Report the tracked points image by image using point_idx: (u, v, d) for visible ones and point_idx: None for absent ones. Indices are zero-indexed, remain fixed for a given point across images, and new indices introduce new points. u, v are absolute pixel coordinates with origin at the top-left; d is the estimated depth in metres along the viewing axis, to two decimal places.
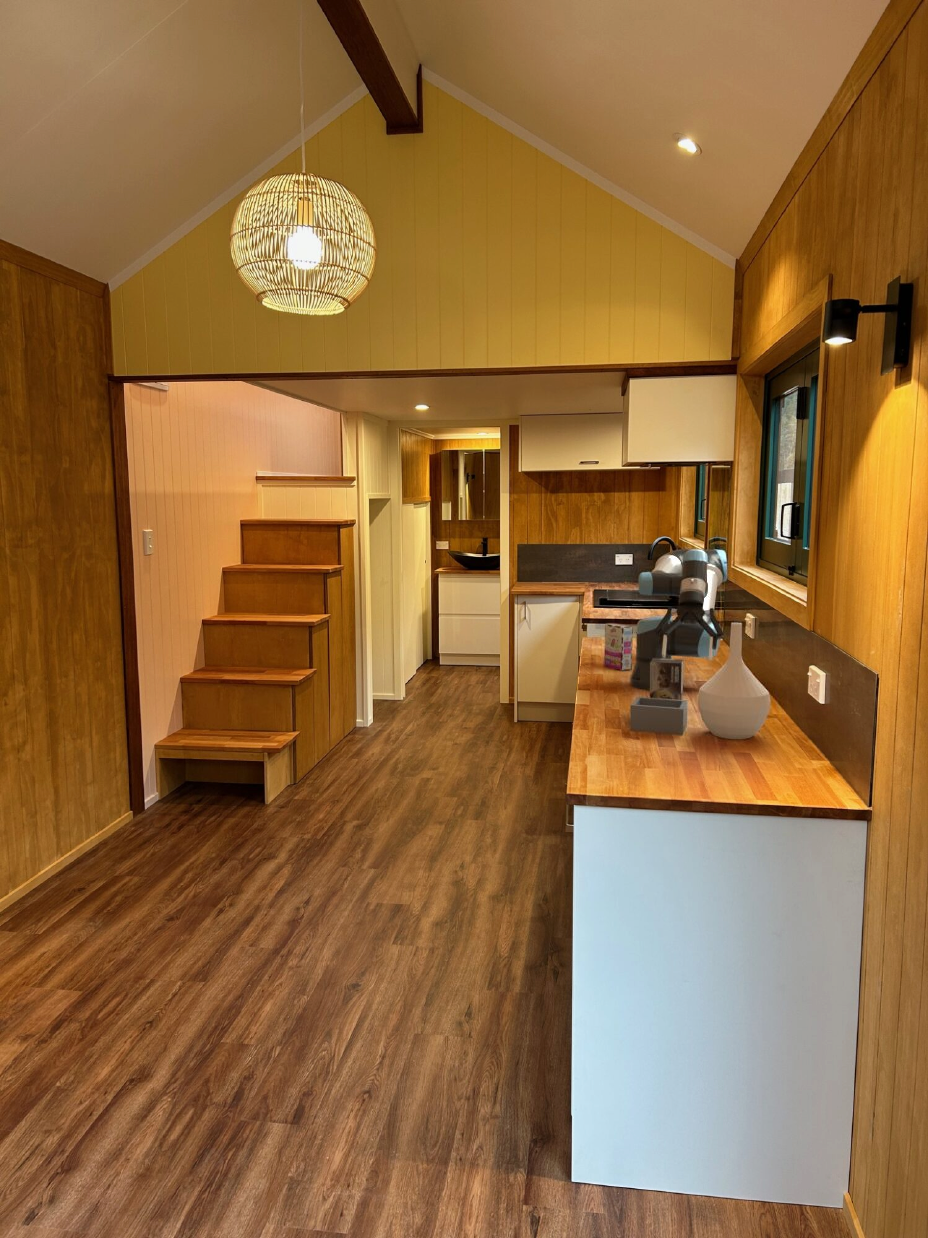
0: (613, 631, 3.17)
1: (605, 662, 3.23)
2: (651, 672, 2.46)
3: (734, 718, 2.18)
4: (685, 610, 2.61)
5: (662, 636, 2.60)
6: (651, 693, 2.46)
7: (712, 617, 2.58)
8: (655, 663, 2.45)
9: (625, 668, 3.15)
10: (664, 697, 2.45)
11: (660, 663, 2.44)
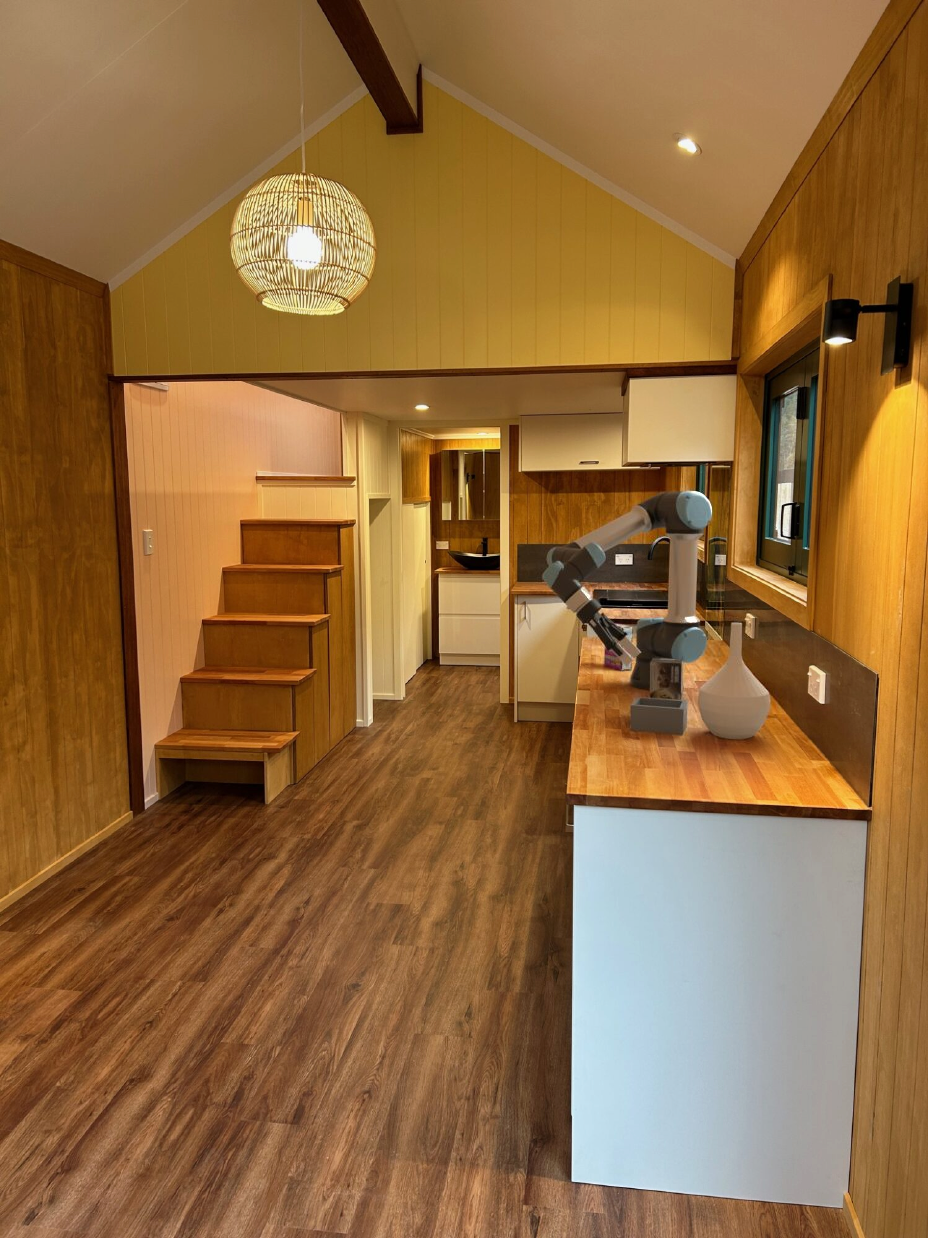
0: None
1: (605, 662, 3.23)
2: (651, 672, 2.46)
3: (734, 718, 2.18)
4: None
5: None
6: (651, 693, 2.46)
7: None
8: (655, 663, 2.45)
9: (625, 668, 3.15)
10: (664, 697, 2.45)
11: (660, 663, 2.44)
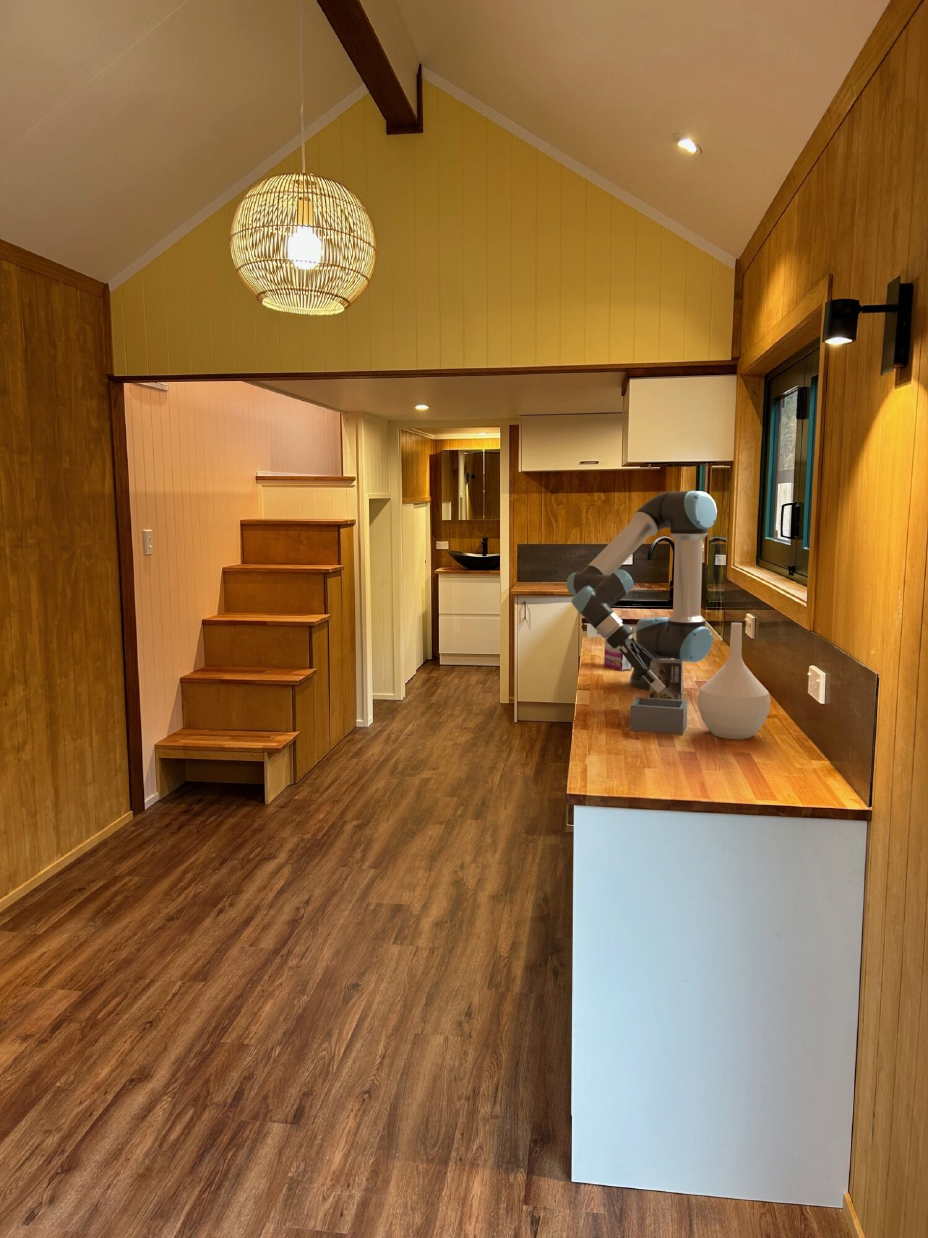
0: None
1: (605, 662, 3.23)
2: None
3: (734, 718, 2.18)
4: None
5: None
6: (651, 693, 2.46)
7: None
8: (655, 663, 2.45)
9: (625, 668, 3.15)
10: (664, 697, 2.45)
11: (660, 663, 2.44)
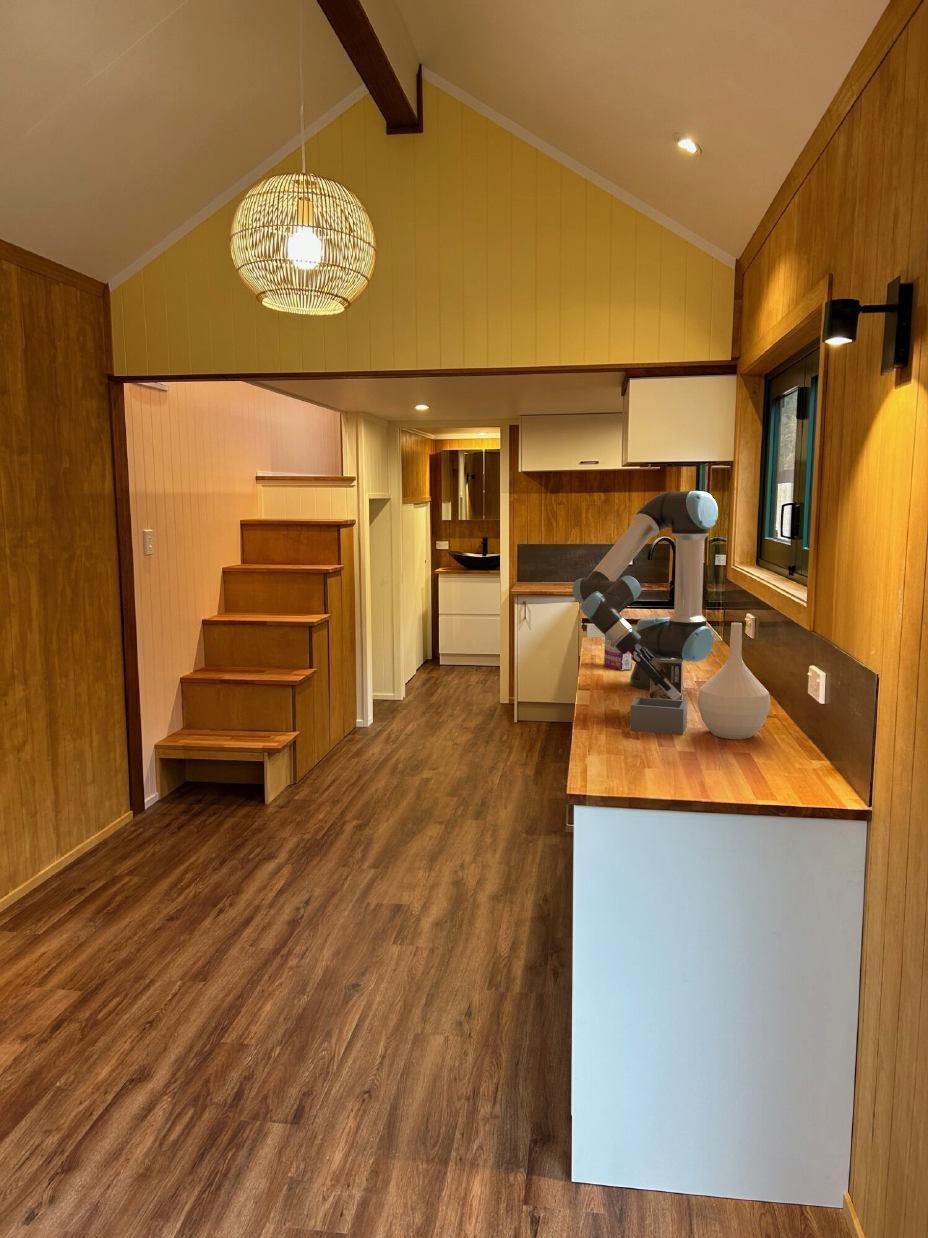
0: None
1: (605, 662, 3.23)
2: None
3: (734, 718, 2.18)
4: None
5: None
6: (651, 693, 2.46)
7: None
8: (655, 663, 2.45)
9: (625, 668, 3.15)
10: (664, 697, 2.45)
11: (660, 663, 2.44)
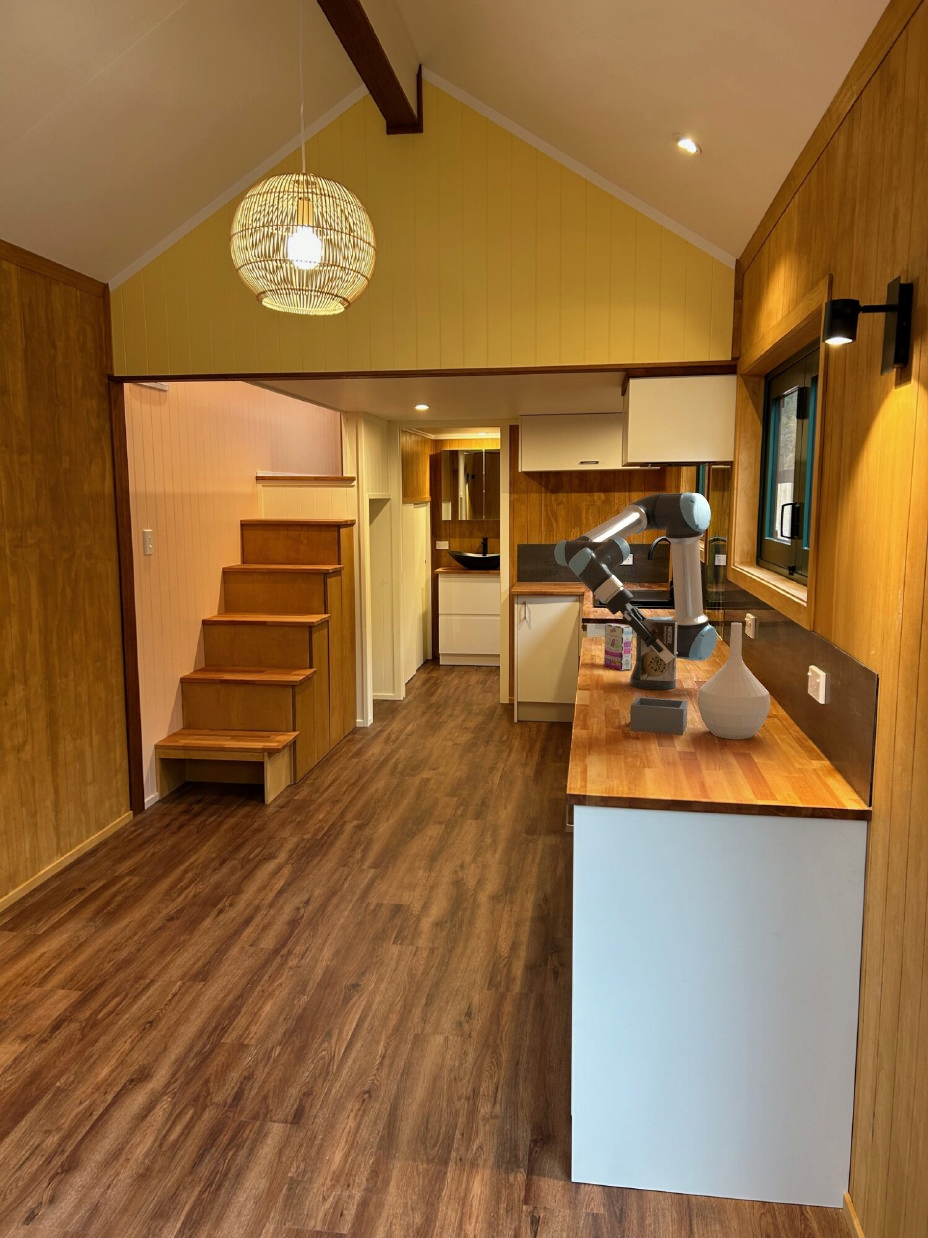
0: (613, 631, 3.17)
1: (605, 662, 3.23)
2: None
3: (734, 718, 2.18)
4: None
5: None
6: (642, 655, 2.31)
7: None
8: (647, 623, 2.30)
9: (625, 668, 3.15)
10: (656, 659, 2.30)
11: (652, 623, 2.29)
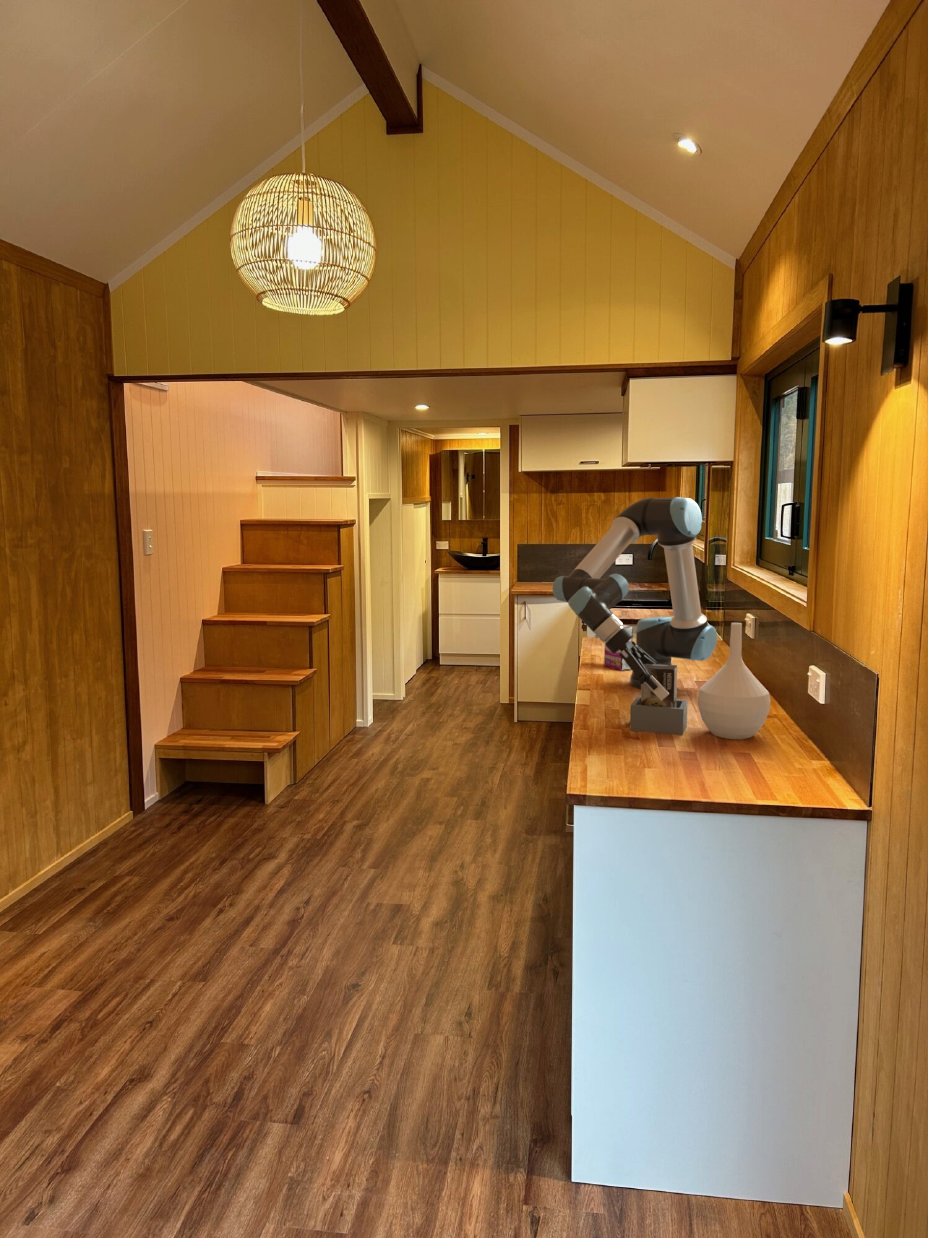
0: None
1: (605, 662, 3.23)
2: None
3: (734, 718, 2.18)
4: None
5: None
6: (642, 701, 2.32)
7: None
8: None
9: (625, 668, 3.15)
10: (656, 705, 2.31)
11: (652, 669, 2.30)
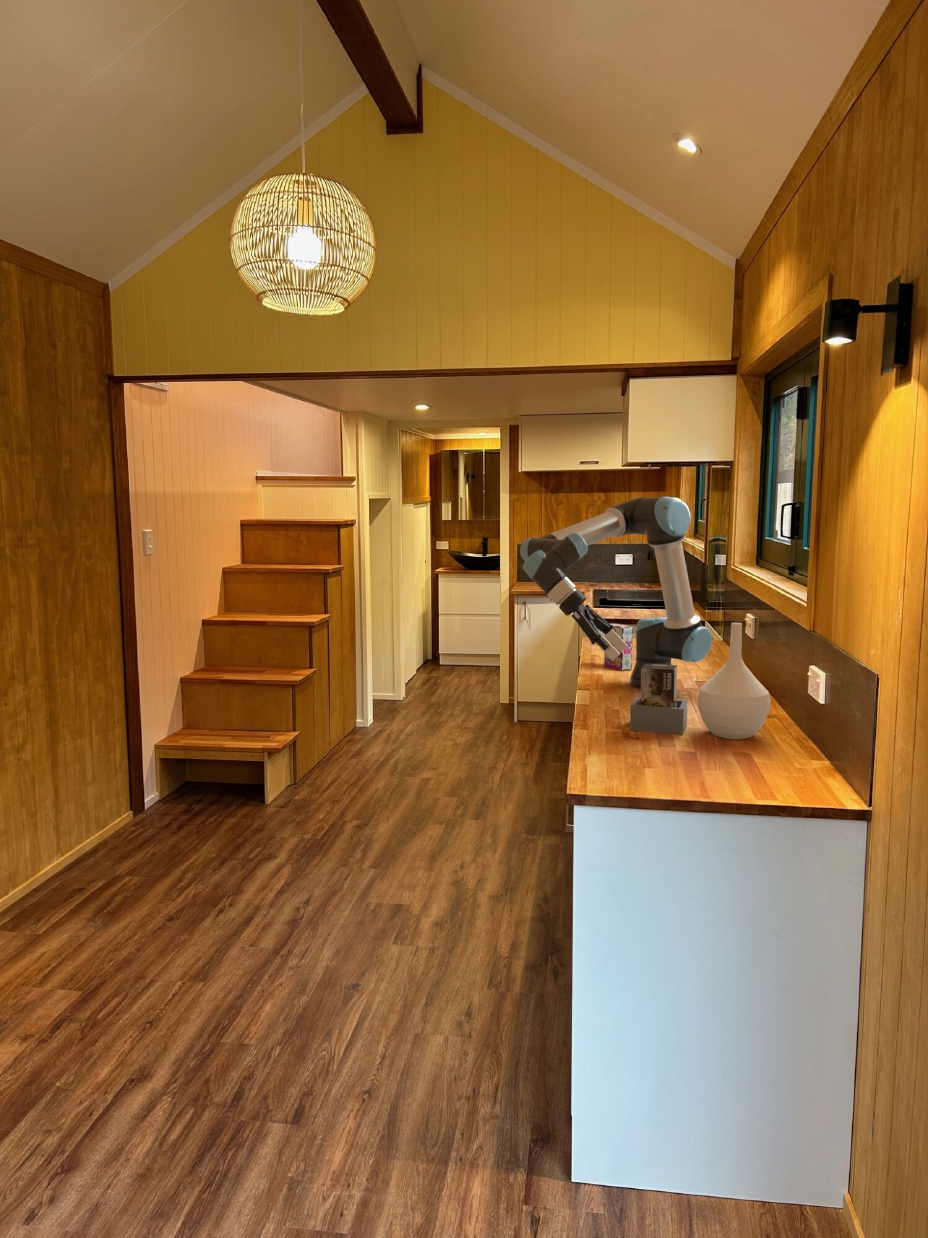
0: None
1: (605, 662, 3.23)
2: (642, 679, 2.31)
3: (734, 718, 2.18)
4: None
5: None
6: (642, 701, 2.32)
7: None
8: (646, 669, 2.30)
9: (625, 668, 3.15)
10: (656, 705, 2.31)
11: (652, 669, 2.30)
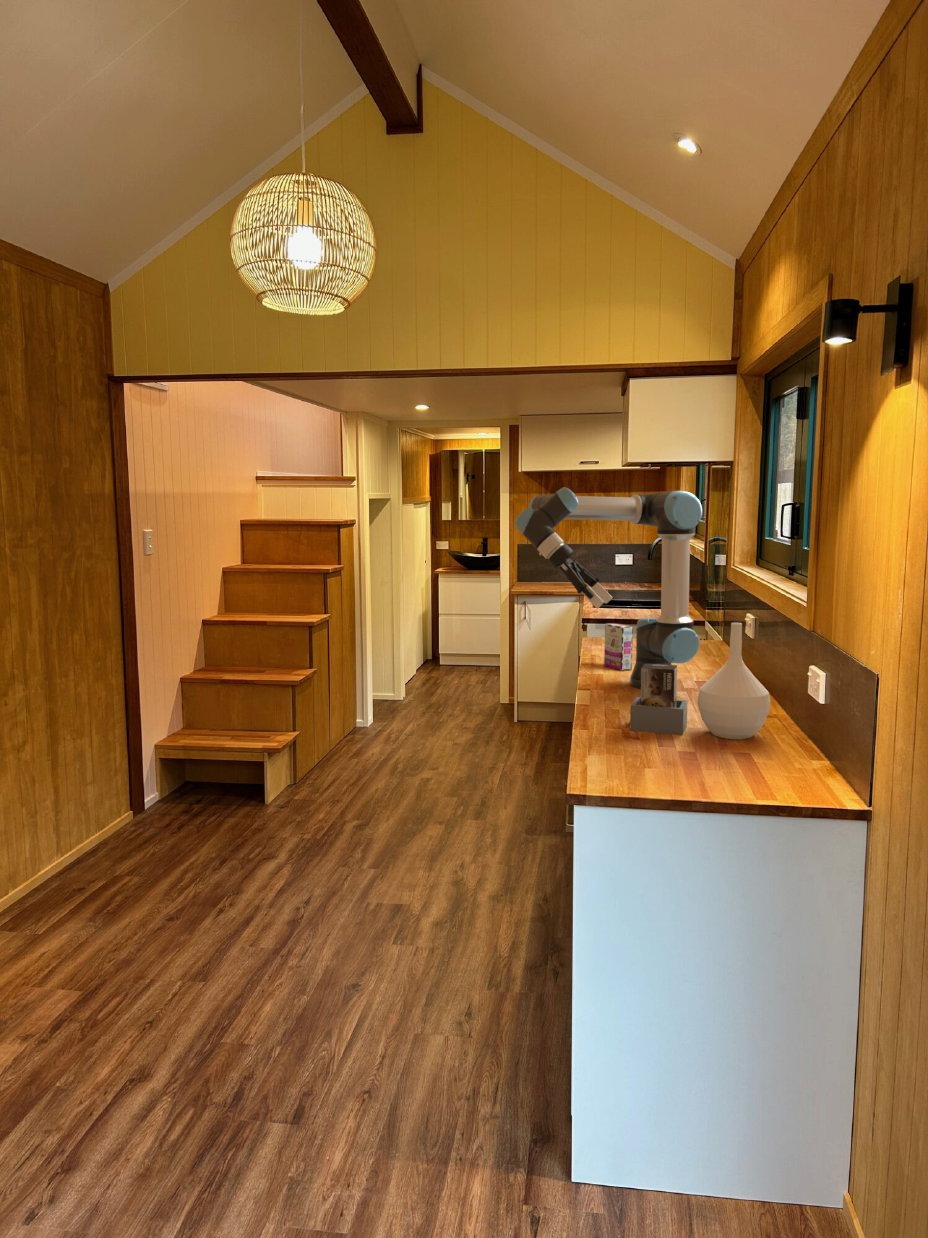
0: (613, 631, 3.17)
1: (605, 662, 3.23)
2: (642, 679, 2.31)
3: (734, 718, 2.18)
4: None
5: None
6: (642, 701, 2.32)
7: None
8: (646, 669, 2.30)
9: (625, 668, 3.15)
10: (656, 705, 2.31)
11: (652, 669, 2.30)
